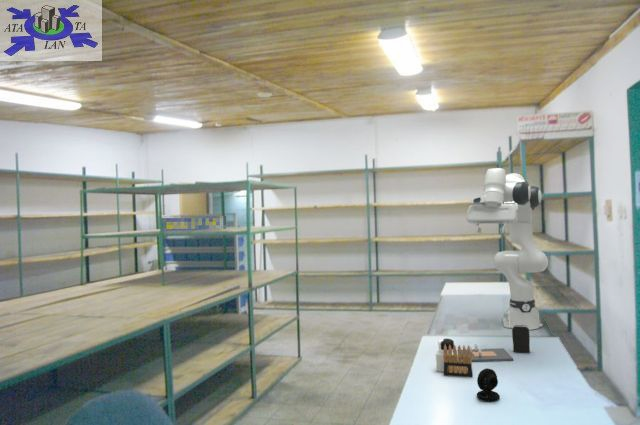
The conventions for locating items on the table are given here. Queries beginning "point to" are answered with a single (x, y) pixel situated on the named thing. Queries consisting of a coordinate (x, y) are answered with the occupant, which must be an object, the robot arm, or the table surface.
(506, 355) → the dock
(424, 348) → the table surface
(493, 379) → the webcam
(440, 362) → the medicine bottle
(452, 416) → the table surface
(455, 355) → the ammunition clip
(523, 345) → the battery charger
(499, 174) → the robot arm
